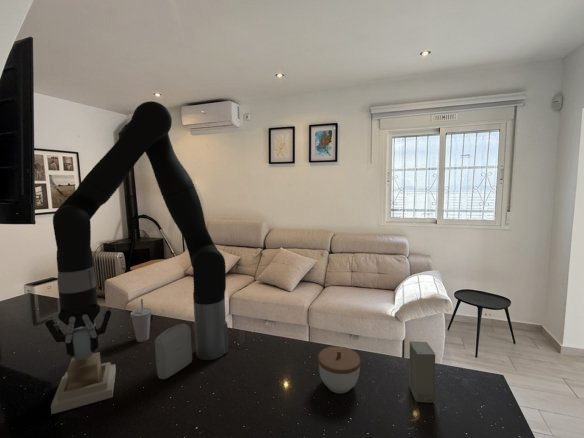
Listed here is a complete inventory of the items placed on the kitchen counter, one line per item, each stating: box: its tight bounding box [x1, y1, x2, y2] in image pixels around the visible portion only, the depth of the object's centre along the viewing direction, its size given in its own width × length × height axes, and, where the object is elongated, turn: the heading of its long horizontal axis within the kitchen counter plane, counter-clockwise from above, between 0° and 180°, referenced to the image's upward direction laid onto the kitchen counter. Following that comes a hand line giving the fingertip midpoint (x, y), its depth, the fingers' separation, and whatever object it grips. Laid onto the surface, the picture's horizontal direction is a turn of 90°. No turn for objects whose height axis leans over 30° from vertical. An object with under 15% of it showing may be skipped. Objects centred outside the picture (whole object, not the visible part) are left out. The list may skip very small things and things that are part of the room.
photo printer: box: [154, 323, 193, 380], centre depth 84 cm, size 10×4×12 cm, turn 149°
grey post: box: [72, 327, 94, 360], centre depth 75 cm, size 4×4×7 cm
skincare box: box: [408, 340, 436, 404], centre depth 74 cm, size 6×4×12 cm
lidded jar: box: [317, 346, 361, 394], centre depth 77 cm, size 11×11×9 cm
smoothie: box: [130, 298, 153, 343], centre depth 101 cm, size 6×6×14 cm
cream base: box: [50, 361, 117, 415], centre depth 76 cm, size 12×12×4 cm
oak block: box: [66, 351, 102, 390], centre depth 76 cm, size 6×6×6 cm
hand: (83, 352), depth 75 cm, fingers closed on grey post, 3 cm apart
